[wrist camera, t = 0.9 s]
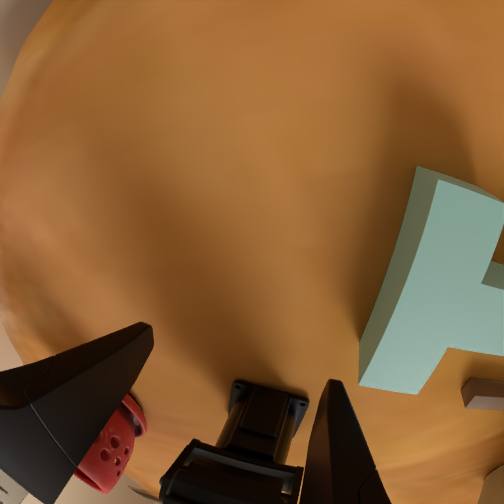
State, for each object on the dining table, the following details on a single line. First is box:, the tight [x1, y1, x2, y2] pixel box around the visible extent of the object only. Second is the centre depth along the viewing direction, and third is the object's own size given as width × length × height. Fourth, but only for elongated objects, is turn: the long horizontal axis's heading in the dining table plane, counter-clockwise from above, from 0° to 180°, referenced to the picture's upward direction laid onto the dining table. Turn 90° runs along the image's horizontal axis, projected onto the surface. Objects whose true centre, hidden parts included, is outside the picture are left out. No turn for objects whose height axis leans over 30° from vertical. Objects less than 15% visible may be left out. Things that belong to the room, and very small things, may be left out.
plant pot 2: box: [73, 394, 147, 494], centre depth 28 cm, size 13×13×12 cm
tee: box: [358, 166, 504, 395], centre depth 14 cm, size 12×12×4 cm
